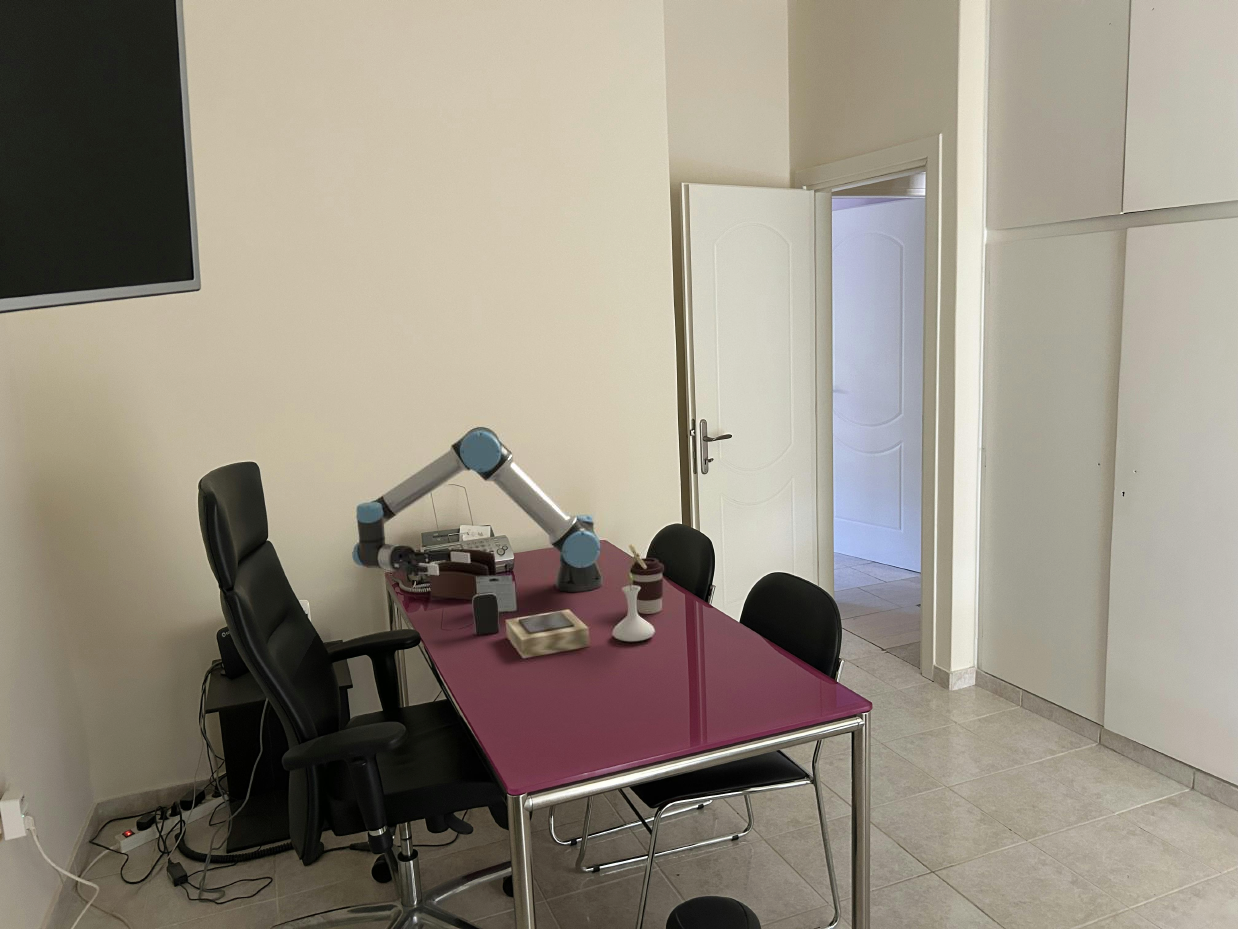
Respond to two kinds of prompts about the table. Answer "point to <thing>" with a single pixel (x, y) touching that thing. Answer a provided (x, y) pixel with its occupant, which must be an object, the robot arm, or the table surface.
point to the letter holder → (462, 575)
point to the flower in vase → (633, 612)
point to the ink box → (499, 590)
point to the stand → (547, 633)
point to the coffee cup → (648, 585)
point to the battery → (485, 613)
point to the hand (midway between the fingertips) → (453, 564)
